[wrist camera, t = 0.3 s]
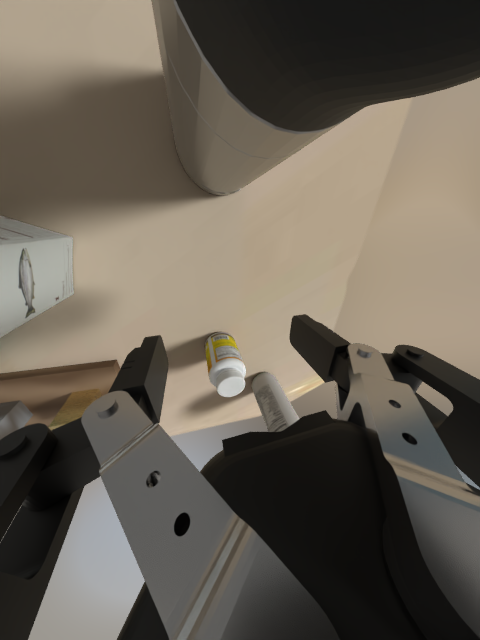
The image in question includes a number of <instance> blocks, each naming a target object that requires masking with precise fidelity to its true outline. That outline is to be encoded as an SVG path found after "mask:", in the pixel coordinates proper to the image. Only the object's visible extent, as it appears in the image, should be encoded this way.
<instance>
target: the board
mask: <svg viewBox="0 0 480 640" xmlns="http://www.w3.org/2000/svg"><path fill="white" fill-rule="evenodd" d="M119 371H120V367H119V364H118V362H117V360H112V361H103V362H95V363H87V364H78V365H70V366H62V367H53V368H45V369H37V370H28V371H20V372H11V373H3V374H0V440H1V439H2V438H4V437H5V436H7V435H8V434H10V433H12V432H14V431H16V430H18V429H20V428H22V427H25V426H28V425H31V424H36V423H42V424H45V425H46V426H47V427H48V428H49V425H50V424H51V422H52V421H53V420H54V418H55V417H56V415H57V414H58V412H59V411H60V409H61V408H62V406H63V405H64V404H65V402H66V401H67V399H68V398H69V396H70V395H71V393H72V392H78V391H84V390H91V389H98V388H99V390H100V392H101V394H102V396H103V395H105V394H108V392H109V390H110V388H111V386H112V384H113V382H114V380H115V378H116V377H117V375H118V373H119Z"/></svg>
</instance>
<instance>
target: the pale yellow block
mask: <svg viewBox="0 0 480 640" xmlns="http://www.w3.org/2000/svg"><path fill="white" fill-rule="evenodd" d="M101 396H102V394H101V392H100V390H99V388H98V389H91V390H84V391H78V392H72V393H71V395H70V396H69V398H68V399H67V401H66V402H65V404H64V405H63V406H62V408H61V409H60V411H59V412H58V414H57V415H56V417H55V418H54V420H53V421H52V422H51V424H50V425H49V429H50V430H53V429H56V428H58V427H60V426H62V425H65V424H67V423H69V422H72V421H74V420H76V419H78V418H80V417H82V415H83V413H84V411H85V410H86V409H87V408H88V406H89V405H90V404H92V403H93V402H94V401H95V400H97V399H98V398H100V397H101Z"/></svg>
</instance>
